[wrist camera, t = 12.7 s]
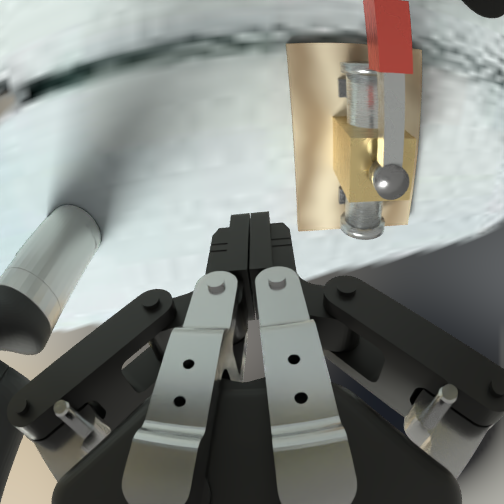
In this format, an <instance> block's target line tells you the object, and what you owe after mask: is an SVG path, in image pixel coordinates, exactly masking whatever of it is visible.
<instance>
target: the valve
mask: <svg viewBox="0 0 504 504" xmlns="http://www.w3.org/2000/svg"><path fill="white" fill-rule="evenodd" d="M340 70H341V72H342V73H346V79H337V80H338V97H347V116H332V120H333V171H334V173H335V175H336V177H337V179H338V181H339V183H340V185H341V187H339V188H338V202H339V204H345V212H343V213H342V215H341V217H340V228H341V230H342V231H343V232H344V233H345V234H346V235H348V236H350V237H353V238H356V239H362V240H369V239H374V238H377V237H379V236H380V235H382V233H383V232H384V226H385V220H384V218H383V216H382V209H383V201H398V200H410V193H411V186H412V178H413V170H414V161H415V151H416V140H417V139H416V138H415V137H414V136H412V135H411V134H410V133H408V132H407V131H406V130H404V149H403V164H402V168H403V169H404V170H405V171H406V172H407V174H408V176H409V180H410V181H409V187H408V189H407V191H406V192H405V194H404V195H402V196H401V197H400V198H398V199H395V200H386V199H384V198H382V197H381V196H380V195H379V194H378V193H377V191H376V190H375V188H374V187H373V185H372V183H371V182H370V180H369V176H368V173H369V169H370V166H371V165H372V163H373V162H374V161H375V160H377V151H378V90H377V71H374V70H371V69H369V62H360V61H344V62H340Z"/></svg>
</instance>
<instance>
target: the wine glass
mask: <svg viewBox="0 0 504 504" xmlns="http://www.w3.org/2000/svg"><path fill="white" fill-rule="evenodd" d="M462 1H463V2H464V3H465V4H466V5H467V6H468V7H469V8H470V9H471V10H473V11H474V12H475V13H477V14H479V15H481V16H483V17H487V18H498V17H500V16H502V15H504V0H462Z"/></svg>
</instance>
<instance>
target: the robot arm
mask: <svg viewBox="0 0 504 504" xmlns="http://www.w3.org/2000/svg"><path fill="white" fill-rule="evenodd" d="M100 242H101V234H100V230H99V227H98V226H97V224H96V222H95V221H94V219H93V218H92V217H91V216H90V215H89V214H88V213H87V212H86V211H84V210H83V209H81V208H79V207H77V206H73V205H62V206H60V207H58V208H56V209H55V210H54V211H53V212H52V213H51V215H50V216H49V217H47V218H46V219H45V220H44V221H43V222H42V223H41V224H40V225H39V227H38V228H37V229H36V230H35V231H34V232H33V234H32V235H31V236H30V237H29V238H28V240H27V241H26V242H25V243H24V245H23V246H22V247H21V248H20V250H19V251H18V252H17V253H16V257H15V258H14V259H13V260H12V262H11V263H10V264H9V266H8V267H7V268H6V270H5V271H4V273H3V274H2V275H1V277H0V350H3V351H11V352H15V353H20V354H25V355H34V354H38V353H40V352H41V351H42V350H43V349H44V347H45V345H46V343H47V341H48V339H49V337H50V335H51V333H52V331H53V329H54V327H55V325H56V323H57V321H58V319H59V317H60V315H61V313H62V311H63V309H64V307H65V305H66V303H67V301H68V299H69V298H70V296H71V294H72V292H73V290H74V289H75V287H76V285H77V283H78V281H79V280H80V278H81V276H82V274H83V273H84V271H85V269H86V268H87V266H88V264H89V263H90V261H91V259H92V258H93V256H94V254H95V253H96V251H97V249H98V248H99V245H100ZM255 311H256V318H257V319H259V321H260V334H261V343H262V351H263V361H264V370H265V378H261V379H257V380H254V381H250V382H243V374H244V366H245V358H246V349H247V341H248V336H247V329H248V320H255ZM147 343H149V345H150V347H149V348H147V349H146V350H145V351H144V352H143V353H141V354H140V355H139V356H138V357H137V358H136V359H134V360H133V361H132V362H131V363H130V364H128V365H127V366H126V367H125V368H124V369H122V365H123V364H124V362H125V361H126V360H127V359H129V358H130V357H131V356H132V355H133V354H135V353H136V352H137V351H138V350H139V349H141V348H142V347H143V346H144V345H145V344H147ZM324 356H325V357H326V358H327V359H329V360H330V361H331V362H333V363H334V364H335V365H337V366H338V367H339V368H340V369H342V370H343V371H344V372H346V373H347V374H348V375H349V376H351V377H352V378H353V379H355V380H356V381H357V382H358V383H360V384H361V385H362V386H364V387H365V388H366V389H368V390H369V391H370V392H372V393H373V394H374V395H376V396H377V397H378V398H379V399H381V400H382V401H383V402H385V403H386V404H387V405H389V406H390V407H391V408H393V409H394V410H395V411H397V412H398V413H400V414H401V415H402V416H403V417H405V420H404V429H405V432H406V434H407V436H408V437H409V438H410V439H411V440H412V441H411V440H410V439H409V438H408V437H406V436H405V435H404V434H403V433H402V432H400V431H399V430H398V429H397V428H395V427H394V426H393V425H392V424H391V423H389V422H388V421H386V419H384V418H383V417H382V416H381V415H380V414H378V413H377V412H376V411H375V410H373V409H372V408H371V407H370V406H369V405H368V404H366V403H365V402H364V401H363V400H362V399H360V398H359V397H358V396H357V395H356V394H354V393H353V392H351V391H350V390H348V389H347V388H345V387H342V386H340V385H338V384H335V383H332V382H331V381H330V377H329V373H328V369H327V366H326V362H325V358H324ZM121 369H122V370H121ZM503 415H504V369H503V368H501V367H500V366H498V365H497V364H495V363H494V362H492V361H490V360H489V359H488V358H486V357H484V356H483V355H481V354H480V353H478V352H476V351H475V350H474V349H472V348H470V347H469V346H467V345H466V344H464V343H462V342H461V341H459V340H458V339H456V338H455V337H453V336H452V335H450V334H448V333H447V332H445V331H443V330H442V329H440V328H439V327H437V326H435V325H434V324H432V323H431V322H429V321H428V320H426V319H424V318H423V317H421V316H419V315H418V314H416V313H414V312H413V311H411V310H410V309H408V308H406V307H405V306H403V305H401V304H400V303H398V302H396V301H395V300H393V299H391V298H390V297H388V296H387V295H385V294H383V293H382V292H380V291H378V290H377V289H375V288H373V287H371V286H370V285H368V284H367V283H365V282H363V281H362V280H360V279H358V278H355V277H352V276H338V277H335V278H332V279H331V280H329V281H328V282H327V283H326V285H325V286H321V285H315V284H311V283H308V282H306V281H304V280H303V279H301V278H300V277H299V275H298V274H297V272H296V267H295V260H294V254H293V247H292V241H291V235H290V229H289V228H288V227H287V226H286V225H285V224H284V223H272V224H270V218H269V211H268V212H257V213H251V219H250V214H249V213H247V214H236V215H231V220H230V227H228V228H219V229H218V230H217V231H216V233H215V234H214V235H213V237H212V242H211V247H210V253H209V258H208V263H207V268H206V274H205V275H204V276H202V277H201V278H200V279H199V280H198V281H197V283H196V285H195V288H194V291H192V292H190V293H188V294H185V295H182V296H178V297H175V298H172V296H171V294H170V293H169V292H167V291H165V290H162V289H153V290H149V291H146V292H144V293H142V294H141V295H140V296H138V297H137V298H136V299H134V300H133V301H132V302H130V303H129V304H128V305H126V306H125V307H124V308H122V309H121V310H120V311H119V312H117V313H116V314H115V315H113V316H112V317H111V318H109V319H108V320H107V321H106V322H104V323H103V324H102V325H100V326H99V327H98V328H97V329H95V330H94V331H93V332H91V333H90V334H89V335H88V336H86V337H85V338H84V339H83V340H81V341H80V342H79V343H77V344H76V345H75V346H74V347H72V348H71V349H70V350H69V351H68V352H66V353H65V354H64V355H62V356H61V357H60V358H59V359H57V360H56V361H55V362H54V363H52V364H51V365H50V366H49V367H48V368H46V369H45V370H44V371H43V372H41V373H40V374H39V375H38V376H36V377H35V378H34V379H33V380H31V381H30V380H28V379H27V378H26V377H24V376H23V375H22V374H20V373H19V372H17V371H16V370H14V369H13V368H11V367H9V366H8V365H7V364H5V363H4V362H2V361H1V360H0V502H1V498H2V495H3V491H4V488H5V485H6V482H7V479H8V476H9V473H10V470H11V467H12V464H13V461H14V459H15V456H16V453H17V451H18V448H19V445H20V443H21V440H22V438H23V435H25V436H26V437H27V438H28V439H30V440H31V441H32V442H34V444H35V445H36V447H37V449H38V451H39V452H40V454H41V456H42V457H43V459H44V461H45V463H46V464H47V466H48V468H49V469H50V471H51V472H52V474H53V475H54V477H55V478H56V480H57V482H58V483H57V484H56V487H55V489H54V492H53V496H52V504H462V495H461V490H460V487H459V484H458V482H457V480H456V479H457V477H458V476H459V475H460V473H461V472H462V470H463V469H464V467H465V466H466V464H467V463H468V461H469V460H470V458H471V456H472V455H473V454H474V452H475V450H476V449H477V447H478V445H479V444H480V442H481V440H482V439H483V437H484V436H485V434H486V432H487V430H488V429H490V428H491V427H492V426H493V425H494V424H495V423H496V422H497V421H498V420H499V419H500V418H501V417H502V416H503Z"/></svg>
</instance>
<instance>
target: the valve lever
mask: <svg viewBox="0 0 504 504" xmlns="http://www.w3.org/2000/svg"><path fill="white" fill-rule="evenodd" d="M363 4H364V13H365V23H366V33H367V45H368V60H369V69H371V70H374V71H377V90H378V151H377V160H375V161H374V162H373V163H372V165H371V166H370V169H369V173H368V176H369V180H370V182H371V183H372V185H373V187H374V188H375V190H376V191H377V193H378V194H379V195H380V196H381V197H382V198H384V199H386V200H395V199H398V198H400V197H401V196H402V195H404V194H405V192H406V191H407V189H408V187H409V181H410V180H409V176H408V174H407V172H406V171H405V170H404V169H403V168H402V164H403V149H404V126H405V74H413V54H412V35H411V22H410V11H409V1H402V0H363Z"/></svg>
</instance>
